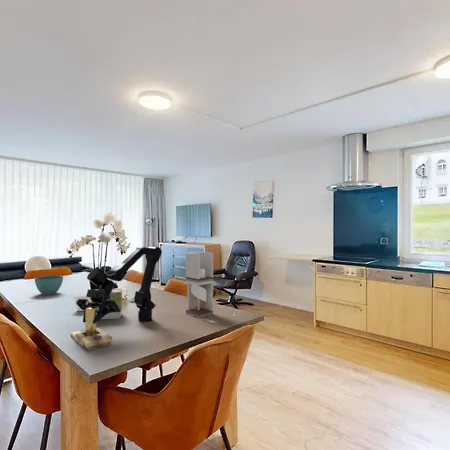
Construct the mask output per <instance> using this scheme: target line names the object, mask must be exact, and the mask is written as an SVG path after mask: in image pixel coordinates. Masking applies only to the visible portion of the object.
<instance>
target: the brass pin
mask: <svg viewBox="0 0 450 450" xmlns="http://www.w3.org/2000/svg"><path fill="white" fill-rule="evenodd" d="M96 315H97V307H88V308H86V317H85V323H84V326H85V327H84V328H85V329H84V330H85V337H87V336H92V335H96V328H97V322H96V323H95V324H94V323H93V322H94V319H95V317H96Z"/></svg>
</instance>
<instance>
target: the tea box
mask: <svg viewBox="0 0 450 450" xmlns="http://www.w3.org/2000/svg"><path fill="white" fill-rule="evenodd" d="M95 290H99V288H98V289H95ZM110 297H111V298H110V299H108V300H112V301H115V302H116V303H117V305H118V306H119V309H118V312H111V310H110V313H108V314H107V315H105V316H104V317H103V318H101V319H100V320H113V319H114V320H115V319H116V320H117V319H118V320H119V319H121V315H122V309H123V308H122V306H123V304H122V302H123V289H122V288H116V289H113V290H112V292H111V294H110ZM91 302H92V301H91ZM98 311H99V307H97V313H98Z"/></svg>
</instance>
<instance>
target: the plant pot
mask: <svg viewBox="0 0 450 450" xmlns="http://www.w3.org/2000/svg"><path fill="white" fill-rule="evenodd" d="M63 280H64V276H63V275H47V276H46V275H45V276H40V277H39V276H38V277H35V278H34V283H35V287H36V288H37V290H38V292H39V293H40V294H41V295H43V296H52V295H55V294H57V292H58V291H60V288H61V287H62V284H63Z"/></svg>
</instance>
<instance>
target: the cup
mask: <svg viewBox="0 0 450 450" xmlns="http://www.w3.org/2000/svg"><path fill="white" fill-rule="evenodd" d="M86 295H87V292H82V293H81V292H80V293H76V294H74V295H73V299H74V302H75V307H76V311H77V312H84V310H82V309H81V308H80V307H79V306H78V305H77V304H76V302H77V300H78V299H87V300H88V301H89V302H91V300H90V297H86Z"/></svg>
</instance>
